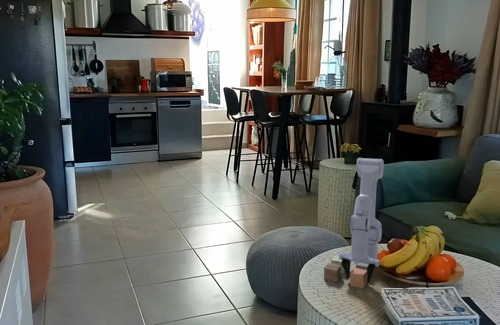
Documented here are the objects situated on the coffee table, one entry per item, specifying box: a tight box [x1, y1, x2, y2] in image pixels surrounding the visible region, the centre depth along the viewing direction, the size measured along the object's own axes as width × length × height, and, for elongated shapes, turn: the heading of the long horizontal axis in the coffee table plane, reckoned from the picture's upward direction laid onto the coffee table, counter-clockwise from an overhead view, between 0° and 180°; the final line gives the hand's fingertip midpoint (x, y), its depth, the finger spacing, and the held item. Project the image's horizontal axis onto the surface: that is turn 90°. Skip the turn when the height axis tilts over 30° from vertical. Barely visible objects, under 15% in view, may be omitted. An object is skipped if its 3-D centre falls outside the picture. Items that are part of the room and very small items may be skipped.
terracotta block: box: [349, 267, 368, 289], centre depth 169 cm, size 5×5×5 cm
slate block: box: [355, 263, 369, 270], centre depth 175 cm, size 5×5×5 cm
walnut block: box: [323, 262, 342, 283], centre depth 173 cm, size 5×5×5 cm
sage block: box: [330, 254, 345, 275], centre depth 180 cm, size 5×5×5 cm
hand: (358, 280), depth 169 cm, fingers open, 7 cm apart
